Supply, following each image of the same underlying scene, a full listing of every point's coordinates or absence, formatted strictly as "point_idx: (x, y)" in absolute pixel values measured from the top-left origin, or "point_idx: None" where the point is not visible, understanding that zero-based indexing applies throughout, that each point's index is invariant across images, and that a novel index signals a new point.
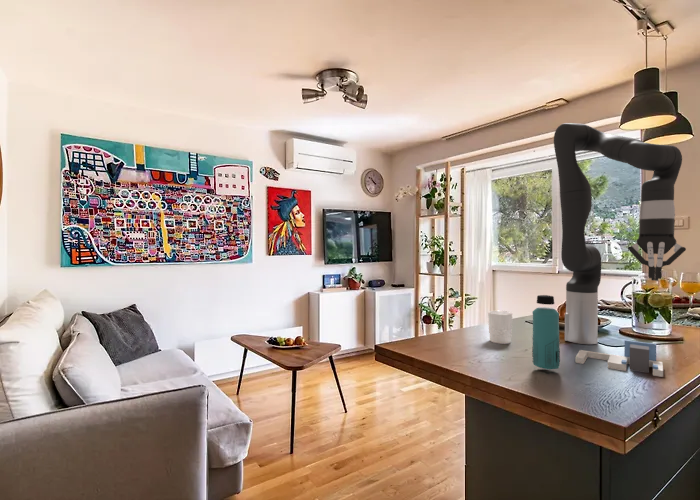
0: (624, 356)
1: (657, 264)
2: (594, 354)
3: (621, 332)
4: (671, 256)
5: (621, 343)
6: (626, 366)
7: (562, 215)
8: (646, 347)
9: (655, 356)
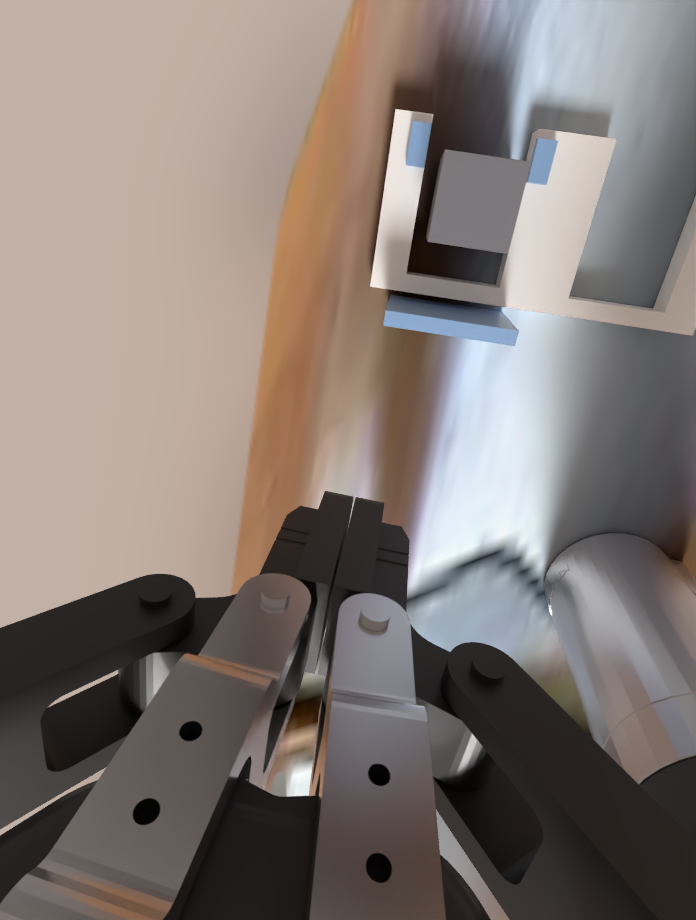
0: (507, 305)
1: (296, 605)
2: (631, 306)
3: None
4: (39, 677)
5: (449, 609)
6: None
7: None
8: (444, 212)
9: (391, 301)
